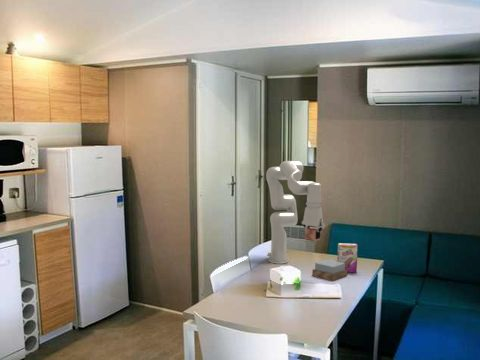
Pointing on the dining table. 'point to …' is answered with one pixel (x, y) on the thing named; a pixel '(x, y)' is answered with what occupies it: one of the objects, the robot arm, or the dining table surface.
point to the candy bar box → (348, 256)
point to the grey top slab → (330, 266)
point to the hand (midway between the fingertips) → (312, 237)
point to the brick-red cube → (311, 234)
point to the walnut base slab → (329, 275)
